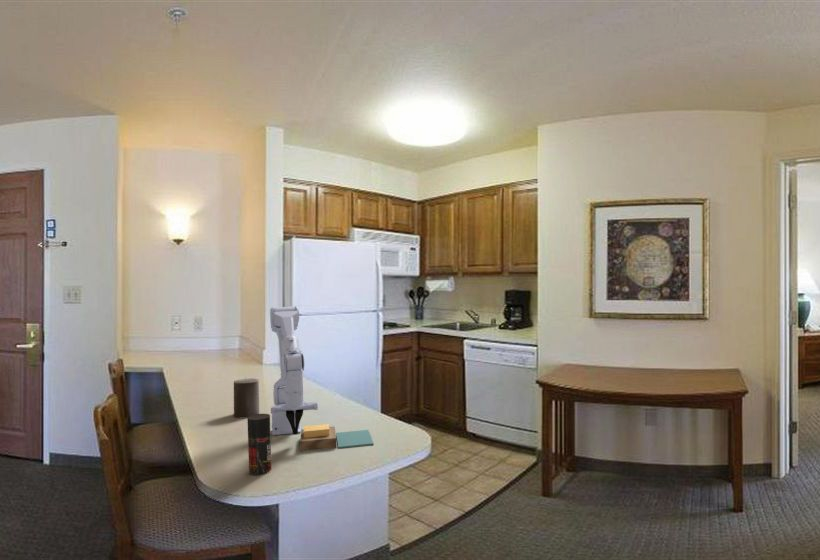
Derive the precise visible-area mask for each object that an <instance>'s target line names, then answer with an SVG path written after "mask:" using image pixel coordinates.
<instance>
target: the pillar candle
mask: <svg viewBox="0 0 820 560" xmlns="http://www.w3.org/2000/svg"><path fill="white" fill-rule="evenodd" d="M259 383H260V381H259V379H258V378H247V377H244V378H239V379H236V380H234V381H233V416H234V417H235V416H236V417H235V418H240V417H246V418H248V417H249V416H251V415H255V414H260V386H259V385H260V384H259Z"/></svg>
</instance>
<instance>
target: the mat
mask: <svg viewBox="0 0 820 560" xmlns="http://www.w3.org/2000/svg"><path fill="white" fill-rule="evenodd" d="M335 433H336V444H337V448H339V449H346V448H347V447H348V448H357V446H358V447H365V446H366V447H367V445H368V446H373V445H374V442H373V438H372V436H371V434H370V431H369V429H361V430H351V431H350V430H349V431H343V432H335ZM348 448H347V449H348Z"/></svg>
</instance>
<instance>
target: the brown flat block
mask: <svg viewBox="0 0 820 560" xmlns="http://www.w3.org/2000/svg"><path fill="white" fill-rule="evenodd" d="M336 433H337V432H336V427H335V426H329V435H328V436H318V437H307V438H304V428H303V429H301V432H300V439H299V441H300V442H299V445H300V446H299V447H300V448H299V449H300V452H307V450H308V451H317V450H327V449H336V448H338V446H337V436H336Z"/></svg>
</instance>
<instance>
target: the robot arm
mask: <svg viewBox="0 0 820 560" xmlns="http://www.w3.org/2000/svg"><path fill="white" fill-rule="evenodd" d="M269 319H270V329H271V331H272V332H274V333H275V334H276V335H277V339H278V350H279V366H280V378H278V380H277V381H276V382H274V384H273V404H274V405H272V406H270V414H271V429H272V430H271V431H272V433H271V434H272V435H271V436H278V435H289V434H292V435H293V436H295V435H298V434H299V433H300V434H301V430H302V424H300V423H301V419H302V417H303V415H304V411H311V410H313V411H314V410H315V411H317V410H318V409H319V407H318V406H319V405H318V402H317V401H316V402H304V374H303V371H304V370H305V357H304V353H303V352H302V350H301V347H300V341H299V338H298V337H296V336H295V331H297V329H298V327H299V321H300V309H299V306H297V305H294V306H276V307H274V306H272V307H271V308H270V309H269Z"/></svg>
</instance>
